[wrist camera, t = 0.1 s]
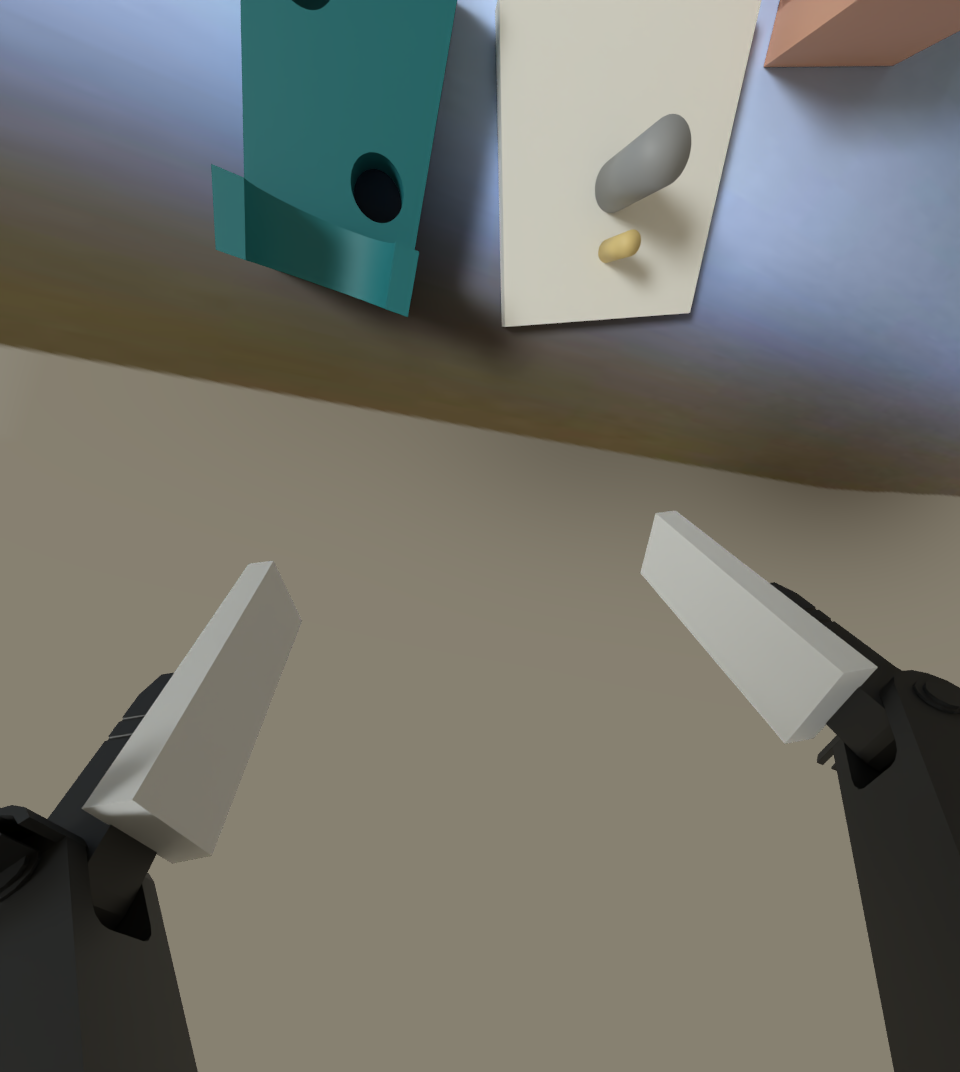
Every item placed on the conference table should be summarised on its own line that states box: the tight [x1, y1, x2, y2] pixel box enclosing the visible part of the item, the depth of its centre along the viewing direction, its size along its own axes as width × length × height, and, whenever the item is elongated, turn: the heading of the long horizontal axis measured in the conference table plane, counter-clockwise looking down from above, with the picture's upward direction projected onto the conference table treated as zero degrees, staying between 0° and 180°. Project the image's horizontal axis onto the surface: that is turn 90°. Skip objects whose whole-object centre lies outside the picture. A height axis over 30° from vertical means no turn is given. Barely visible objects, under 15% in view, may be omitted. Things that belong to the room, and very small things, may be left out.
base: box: [495, 0, 761, 327], centre depth 25 cm, size 18×18×8 cm
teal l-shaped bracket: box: [211, 0, 457, 317], centre depth 21 cm, size 18×11×10 cm, turn 163°
